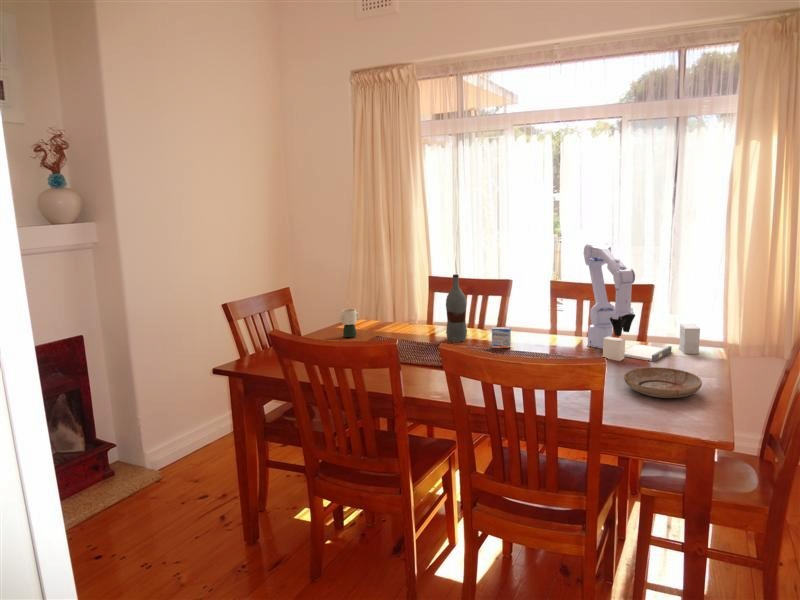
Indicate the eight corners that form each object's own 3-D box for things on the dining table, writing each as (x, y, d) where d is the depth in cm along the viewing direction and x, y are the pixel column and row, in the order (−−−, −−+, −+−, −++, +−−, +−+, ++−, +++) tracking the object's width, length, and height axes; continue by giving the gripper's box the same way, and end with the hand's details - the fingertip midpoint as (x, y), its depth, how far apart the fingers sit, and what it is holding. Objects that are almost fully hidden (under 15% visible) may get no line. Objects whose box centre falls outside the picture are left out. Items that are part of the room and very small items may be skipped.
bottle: (444, 342, 270) (442, 276, 264) (449, 337, 279) (447, 273, 273) (464, 343, 267) (463, 276, 261) (468, 338, 276) (468, 273, 270)
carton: (619, 361, 233) (620, 341, 232) (602, 357, 238) (603, 338, 237) (624, 358, 236) (625, 338, 235) (607, 355, 241) (608, 336, 240)
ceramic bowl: (624, 378, 214) (624, 364, 213) (697, 383, 205) (698, 369, 204) (622, 400, 192) (623, 385, 191) (704, 407, 184) (705, 392, 183)
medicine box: (491, 348, 257) (491, 328, 256) (492, 345, 261) (492, 326, 260) (510, 349, 255) (510, 329, 254) (510, 346, 259) (510, 326, 258)
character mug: (355, 333, 291) (354, 307, 289) (363, 336, 286) (362, 309, 283) (336, 337, 285) (334, 310, 282) (344, 340, 279) (342, 313, 277)
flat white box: (620, 355, 240) (620, 349, 240) (638, 346, 252) (638, 341, 252) (654, 361, 231) (655, 355, 230) (671, 352, 243) (672, 346, 242)
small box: (698, 354, 239) (700, 328, 237) (683, 354, 240) (685, 328, 238) (693, 349, 246) (694, 324, 244) (678, 348, 247) (680, 323, 245)
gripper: (625, 304, 226) (624, 338, 229) (640, 298, 237) (639, 331, 239) (607, 302, 231) (606, 336, 234) (623, 296, 242) (622, 329, 244)
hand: (622, 333), depth 237 cm, fingers open, 7 cm apart
